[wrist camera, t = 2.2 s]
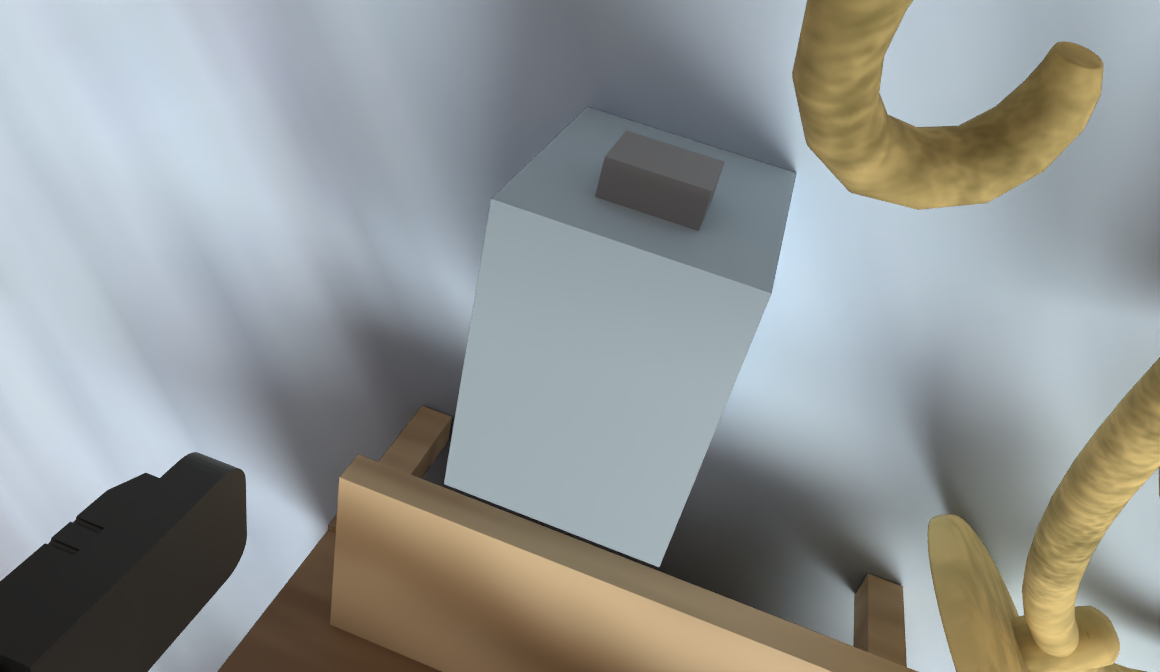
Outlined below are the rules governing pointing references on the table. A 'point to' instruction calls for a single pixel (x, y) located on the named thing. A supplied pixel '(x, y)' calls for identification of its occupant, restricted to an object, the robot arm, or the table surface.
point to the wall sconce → (963, 177)
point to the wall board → (517, 595)
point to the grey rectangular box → (613, 327)
